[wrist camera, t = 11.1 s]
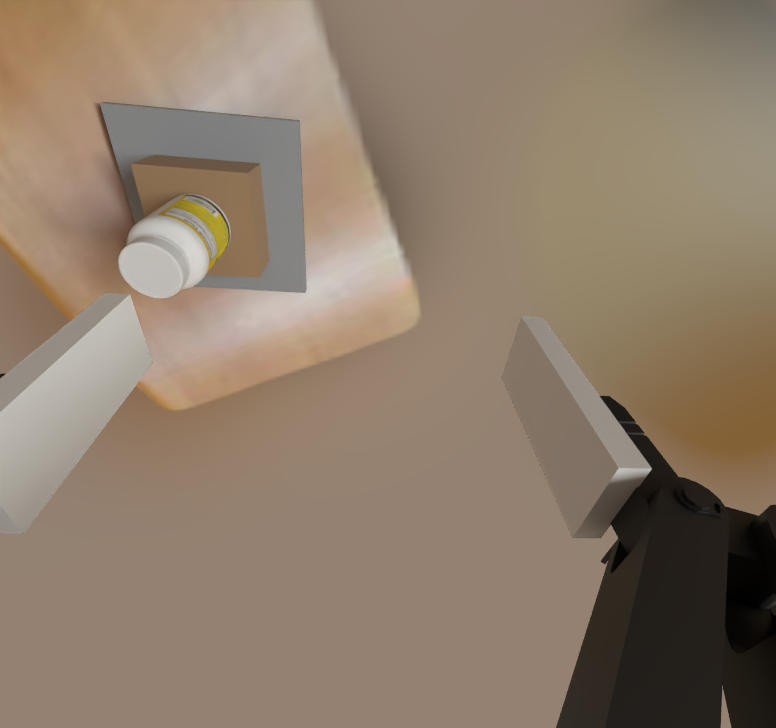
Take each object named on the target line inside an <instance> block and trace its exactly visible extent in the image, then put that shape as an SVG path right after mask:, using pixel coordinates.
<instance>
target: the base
mask: <svg viewBox="0 0 776 728" xmlns="http://www.w3.org/2000/svg"><path fill="white" fill-rule="evenodd" d="M100 106H101V109H102V113H103V116H104V120H105V123H106V126H107V130H108V133H109V137H110V140H111V144H112V147H113V151H114V154H115V157H116V161H117V164H118V168H119V171H120V175H121V178H122V182H123V185H124V188H125V192H126V195H127V199H128V202H129V206H130V209H131V212H132V216H133V219H134V223H135V224H136V223H138V222H139V221H140V220H142V219H143V218H145V217H146V216H148V215H149V214H151V213H152V212H154V211H155V210H156V209H158V208H159V207H161V206H162V205H164V204H165V203H167V202H168V201H170V200H171V199H173V198H175V197H177V196H179V195H182V194H197V195H201V196H204V197H206V198H208V199H210V200H211V201H213V202H214V203H215V204H216V205H218V206H219V207H220V208H221V210H222V211H223V212H224V214H225V215H226V217H227V219H228V222H229V225H230V230H231V237H230V241H229V244H228V246H227V248H226V249H225V251H224V252H223V253H222V255H221V256H220V257H219V258H218V260H217V261H216V262H215V264H214V265H213V266H212V267H211V269H210V270H209V271H208V273H207V274H206V275H205V277H204V278H203V279H202V280H201V281H200V282H199V283H198V284H196V285H195V286H198V287H215V288H232V289H250V290H267V291H284V292H301V293H305V292H306V289H307V288H306V264H305V239H304V215H303V191H302V167H301V143H300V120H290V119H279V118H268V117H258V116H247V115H236V114H226V113H215V112H204V111H194V110H183V109H172V108H162V107H151V106H140V105H130V104H119V103H109V102H104V103H100Z"/></svg>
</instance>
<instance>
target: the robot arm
mask: <svg viewBox="0 0 776 728" xmlns="http://www.w3.org/2000/svg"><path fill="white" fill-rule="evenodd" d="M151 364H152V360H151V357H150V354H149V351H148V348H147V345H146V342H145V339H144V336H143V333H142V329H141V326H140V323H139V320H138V317H137V314H136V311H135V308H134V305H133V302H132V299H131V296H130V294H115V293H104V294H103V295H102V296H101V297H99V298H98V299H97V300H96V301H94V302H93V303H92V304H91V305H90V306H88V307H87V308H86V309H85V310H83V311H82V312H81V313H80V314H79V315H77V316H76V317H75V318H74V319H72V320H71V321H70V322H69V323H68V324H66V325H65V326H64V327H63V328H61V329H60V330H59V331H58V332H57V333H55V334H54V335H53V336H52V337H50V338H49V339H48V340H47V341H46V342H44V343H43V344H42V345H41V346H39V347H38V348H37V349H36V350H35V351H33V352H32V353H31V354H30V355H28V356H27V357H26V358H25V359H24V360H23V361H21V362H20V363H19V364H17V365H16V366H15V367H14V368H13V369H11V370H10V371H9V372H8V373H6V374H0V533H10V534H12V533H14V534H16V533H17V534H19V533H20V534H23V533H25V531H26V530H27V529H28V527H29V526H30V525H31V523H32V522H33V521H34V519H35V518H36V517H37V515H38V514H39V513H40V511H41V510H42V509H43V508H44V506H45V504H46V503H47V502H48V501H49V500H50V498H51V497H52V496H53V494H54V493H55V492H56V490H57V489H58V487H59V486H60V485H61V484H62V482H63V481H64V479H65V478H66V477H67V476H68V474H69V473H70V472H71V470H72V469H73V468H74V466H75V465H76V464H77V462H78V461H79V460H80V459H81V457H82V456H83V455H84V453H85V452H86V450H87V449H88V448H89V447H90V445H91V444H92V443H93V441H94V440H95V439H96V437H97V436H98V435H99V433H100V432H101V431H102V429H103V428H104V427H105V425H106V424H107V423H108V421H109V420H110V419H111V417H112V416H113V415H114V413H115V412H116V411H117V409H118V408H119V407H120V405H121V404H122V403H123V401H124V400H125V399H126V398H127V396H128V395H129V394H130V392H131V391H132V390H133V388H134V387H135V386H136V384H137V383H138V382H139V380H140V379H141V378H142V376H143V375H144V374H145V372H146V371H147V370H148V368H149V367H150V366H151ZM502 380H503V382H504V384H505V387H506V389H507V391H508V393H509V396H510V398H511V400H512V403H513V405H514V407H515V409H516V411H517V414H518V416H519V418H520V421H521V423H522V425H523V427H524V430H525V432H526V434H527V436H528V439H529V441H530V443H531V445H532V447H533V450H534V452H535V454H536V457H537V459H538V461H539V463H540V466H541V468H542V470H543V472H544V475H545V477H546V479H547V481H548V483H549V486H550V488H551V490H552V493H553V495H554V497H555V499H556V502H557V504H558V506H559V508H560V510H561V513H562V515H563V518H564V520H565V522H566V524H567V527H568V529H569V531H570V533H571V535H572V538H601V537H602V536H603V535H604V533H605V532H606V531H607V529H608V528H609V526H610V525H612V527H613V529H614V531H615V532H616V534H617V536H618V540H617V541H616V542H615V543H614V545H613V546H612V547H611V548H610V550H609V551H608V552H607V553H606V555H605V556H604V557H603V559H602V560H601V562H602V563H604V564H606V562H607V561H608V563H607V567H606V570H605V573H604V576H603V579H602V582H601V586H600V589H599V592H598V595H597V598H596V602H595V605H594V608H593V611H592V615H591V618H590V621H589V624H588V628H587V630H586V634H585V637H584V640H583V643H582V647H581V650H580V653H579V656H578V660H577V663H576V666H575V669H574V672H573V675H572V679H571V682H570V685H569V688H568V691H567V695H566V698H565V701H564V704H563V707H562V711H561V714H560V717H559V720H558V723H557V727H556V728H720V726H721V704H722V703H721V702H722V685H723V690H724V694H725V699H726V703H727V708H728V713H729V718H730V723H731V727H732V728H776V505H770V506H769V507H768V508H767V509H766V510H765V511H764V512H763V513H762V514H760V515H759V516H757V515H754V514H750V513H747V512H743V511H739V510H736V509H732V508H729V507H725V506H724V504H723V503H722V502H721V500H720V499H719V498H718V497H717V496H716V495H714V494H713V493H712V492H711V491H710V490H708V489H707V488H705V487H704V486H702V485H700V484H699V483H697V482H694V481H691V480H689V479H686V478H682V477H678V476H677V474H676V473H675V472H674V471H673V469H672V468H671V467H670V465H669V464H668V463H667V461H666V460H665V459H664V458H663V456H662V455H661V454H660V453H659V451H658V450H657V449H656V447H655V446H654V445H653V444H652V442H651V441H650V440H649V438H648V437H647V436H644V432H643V431H642V429H641V428H640V427H639V426H638V425H637V424H636V422H635V420H634V419H633V418H632V416H631V415H630V414H629V413H628V411H627V410H626V409H625V408H624V407H623V406H622V405H620V404H619V403H618V402H616V401H615V400H614V399H612V398H611V397H610V396H599V395H598V393H597V392H596V391H595V389H594V388H593V386H592V385H591V384H590V382H589V381H588V380H587V378H586V377H585V375H584V374H583V373H582V371H581V370H580V369H579V367H578V366H577V364H576V363H575V362H574V360H573V359H572V358H571V356H570V355H569V353H568V352H567V351H566V349H565V348H564V346H563V345H562V344H561V342H560V341H559V340H558V338H557V337H556V335H555V334H554V333H553V331H552V330H551V329H550V327H549V326H548V324H547V323H546V322H545V320H544V319H543V318H542V317H525V316H522V317H521V319H520V322H519V325H518V328H517V332H516V335H515V338H514V341H513V344H512V347H511V350H510V353H509V356H508V360H507V363H506V365H505V369H504V372H503V375H502Z"/></svg>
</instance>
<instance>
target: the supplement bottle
mask: <svg viewBox="0 0 776 728" xmlns="http://www.w3.org/2000/svg"><path fill="white" fill-rule="evenodd" d="M230 237H231V230H230V225H229V222H228V219H227V217H226V215H225V214H224V212H223V211H222V210H221V208H220V207H219V206H218V205H216V204H215V203H214V202H213V201H211V200H210V199H208V198H206V197H204V196H201V195H197V194H182V195H179V196H177V197H175V198H173V199H171V200H170V201H168V202H167V203H165V204H164V205H162V206H161V207H159V208H158V209H156V210H155V211H154V212H152V213H151V214H149V215H148V216H146V217H145V218H143V219H142V220H140V221H139V222H138V223H136V224H135V225H134V226H133V227H132V229H131V230H130V232H129V234H128V237H127V246H126V247H124V248H123V249H122V251H121V253H120V255H119V259H118V265H119V269H120V272H121V274H122V276H123V278H124V279H125V281H126V282H127V283H128V284H129V285H130V286H131V287H132V288H134V289H135V290H136V291H138V292H140V293H141V294H144V295H146V296H149V297H153V298H168V297H171V296H173V295H175V294H176V293H177V292H178V291H179V290H182V289H187V288H190V287H193V286H195V285H196V284H198V283H199V282H200V281H201V280H202V279H203V278H204V277H205V275H206V274H207V273H208V271H209V270H210V269H211V267H212V266H213V265H214V264H215V262H216V261H217V260H218V258H219V257H220V256H221V255H222V253H223V252H224V251H225V249H226V248H227V246H228V244H229V241H230Z"/></svg>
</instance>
